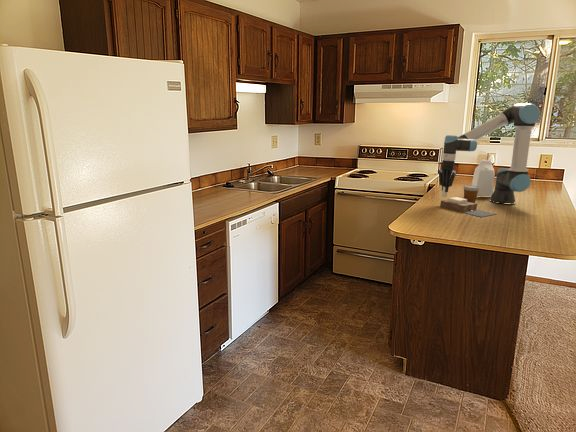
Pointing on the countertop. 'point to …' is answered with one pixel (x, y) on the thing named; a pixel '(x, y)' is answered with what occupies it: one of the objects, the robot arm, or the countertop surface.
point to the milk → (484, 178)
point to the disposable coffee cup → (470, 193)
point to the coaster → (457, 200)
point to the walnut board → (458, 206)
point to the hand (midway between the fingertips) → (444, 196)
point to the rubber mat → (479, 213)
